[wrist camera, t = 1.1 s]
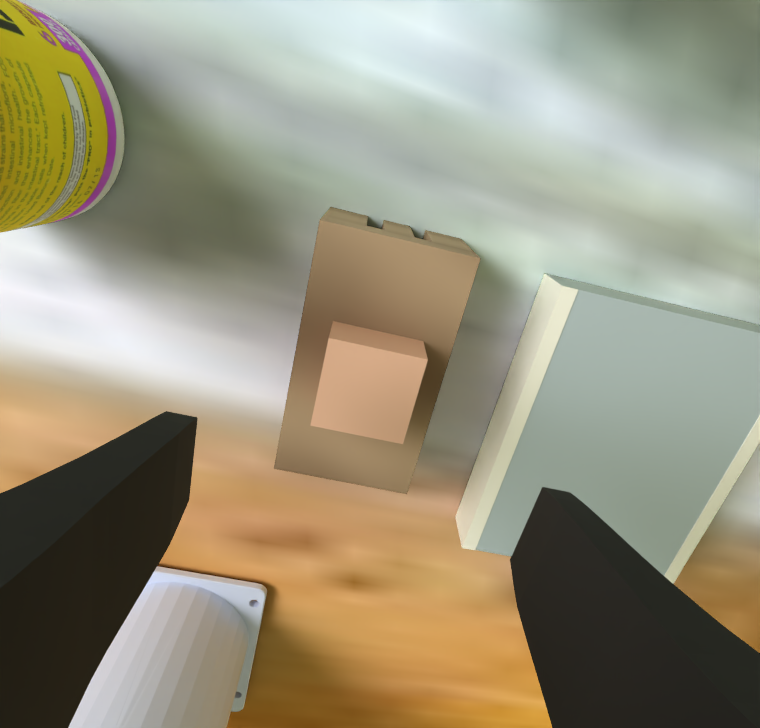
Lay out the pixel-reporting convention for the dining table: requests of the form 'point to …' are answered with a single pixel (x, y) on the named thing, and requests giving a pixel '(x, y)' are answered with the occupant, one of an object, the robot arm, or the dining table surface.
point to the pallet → (380, 313)
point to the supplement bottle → (52, 121)
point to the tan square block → (369, 383)
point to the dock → (618, 420)
